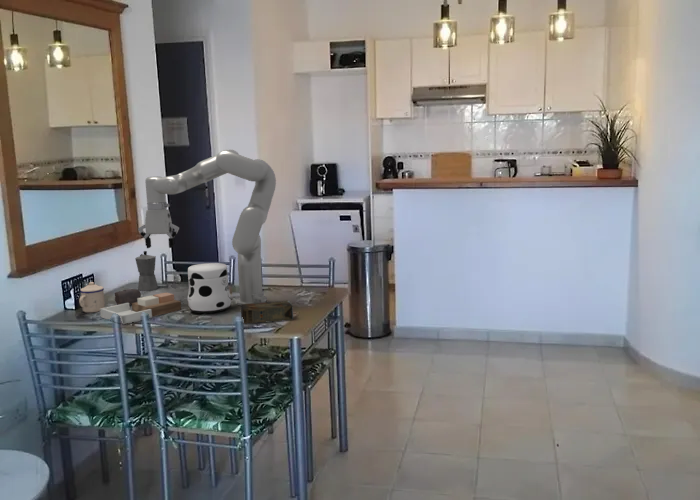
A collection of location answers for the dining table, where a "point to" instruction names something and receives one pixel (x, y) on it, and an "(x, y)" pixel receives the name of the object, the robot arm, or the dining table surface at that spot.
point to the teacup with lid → (92, 298)
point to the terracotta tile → (165, 297)
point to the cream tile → (148, 301)
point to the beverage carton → (266, 311)
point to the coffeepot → (146, 272)
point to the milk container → (208, 288)
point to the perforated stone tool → (127, 296)
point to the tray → (123, 313)
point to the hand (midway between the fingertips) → (160, 247)
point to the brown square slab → (159, 307)
